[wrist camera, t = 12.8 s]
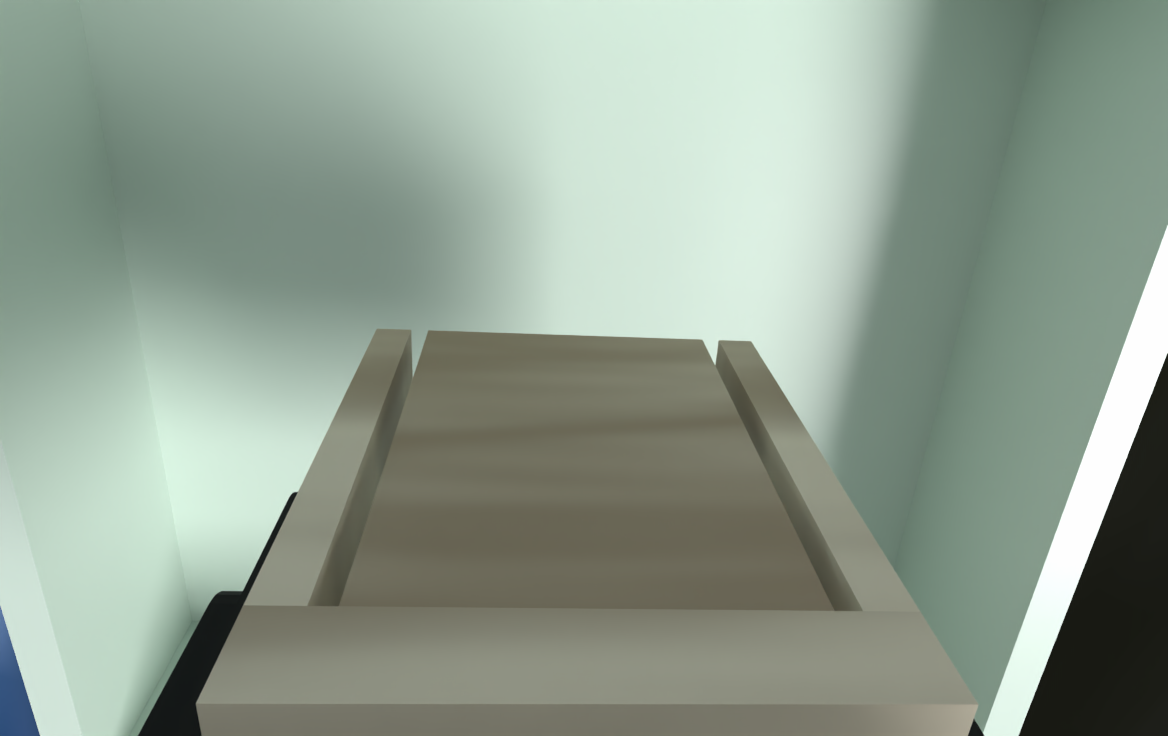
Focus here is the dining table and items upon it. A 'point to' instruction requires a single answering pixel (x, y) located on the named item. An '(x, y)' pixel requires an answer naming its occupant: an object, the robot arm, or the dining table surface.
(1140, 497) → the dining table surface
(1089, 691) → the dining table surface
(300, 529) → the drawer
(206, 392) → the bin
